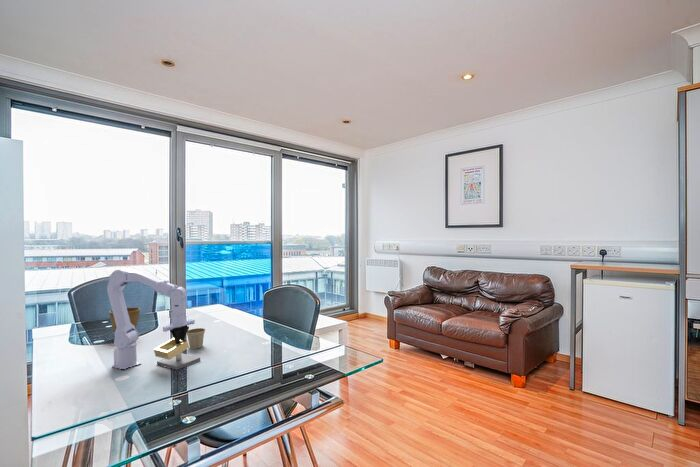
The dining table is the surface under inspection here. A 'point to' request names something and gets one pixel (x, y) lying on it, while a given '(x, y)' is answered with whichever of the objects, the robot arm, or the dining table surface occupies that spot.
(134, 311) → the plant pot
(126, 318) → the robot arm
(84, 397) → the dining table surface
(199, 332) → the flower pot
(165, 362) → the grey piece
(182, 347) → the gold square frame
